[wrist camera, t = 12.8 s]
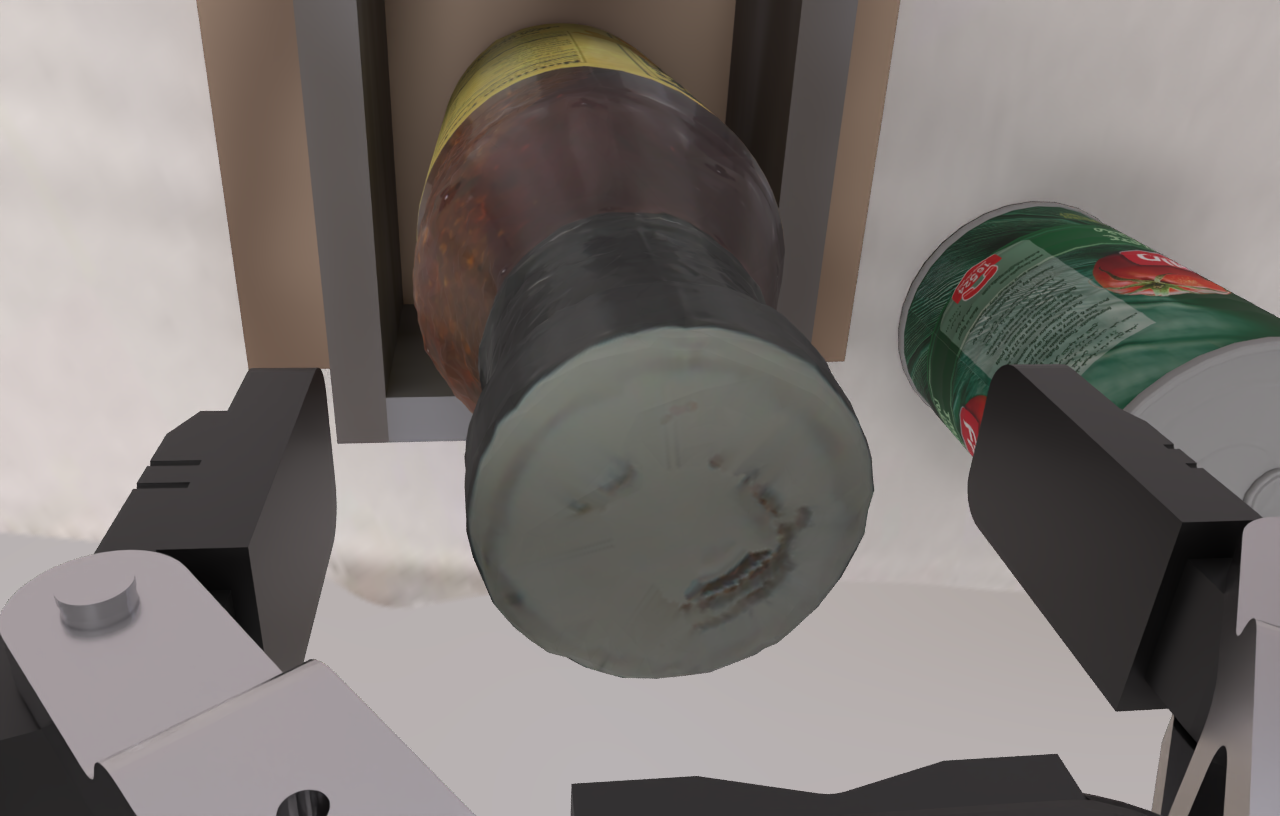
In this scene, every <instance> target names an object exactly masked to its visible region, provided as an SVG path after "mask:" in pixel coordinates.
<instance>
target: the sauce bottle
mask: <svg viewBox="0 0 1280 816" xmlns="http://www.w3.org/2000/svg"><path fill="white" fill-rule="evenodd" d="M784 257H785V245H784V235H783V227H782V222H781V218H780V213H779V208H778V205H777V203H776V200H775V197H774V194H773V192H772V189H771V187H770V185H769V183H768V181H767V179H766V177H765V175H764V173H763V171H762V170H761V168H760V166H759V165H758V163H757V161H756V160H755V158H754V157H753V156H752V154H751V153H750V152H749V150H748V149H747V147H746V146H745V145H744V143H743V142H742V141H741V140H740V139H739V138H738V137H737V135H736V134H735V133H734V132H733V131H731V130H730V129H729V128H728V127H727V126H726V125H725V124H724V123H723V122H722V121H721V120H720V119H719V118H718V117H717V116H715V115H714V114H713V113H712V112H711V111H710V110H709V109H707V108H706V107H705V106H704V105H703V104H702V103H701V102H699V101H698V100H697V99H696V98H694V97H693V96H692V95H691V94H690V93H689V92H688V91H687V90H686V89H685V88H684V87H683V86H681V85H680V84H679V83H677V82H676V81H674V80H673V79H672V78H671V77H670V76H668V75H667V74H665V73H664V72H663V71H662V70H661V69H660V68H659V67H658V66H656V65H655V64H654V63H653V62H651V61H650V60H649V59H648V58H647V57H645V56H644V55H643V54H642V53H640V52H639V51H638V50H637V49H635V48H634V47H633V46H631V45H630V44H628V43H627V42H625V41H623V40H622V39H620V38H618V37H616V36H614V35H612V34H610V33H608V32H606V31H604V30H601V29H597V28H594V27H591V26H586V25H579V24H566V23H556V24H543V25H537V26H532V27H528V28H524V29H521V30H519V31H516V32H514V33H511V34H509V35H507V36H504V37H502V38H500V39H498V40H496V41H495V42H494V43H493V44H491V45H490V46H489V47H488V48H487V49H486V50H485V51H483V52H482V53H481V54H480V55H479V56H478V57H477V58H476V59H475V60H474V61H473V63H472V64H471V65H470V66H469V67H468V68H467V70H466V71H465V73H464V74H463V76H462V77H461V78H460V80H459V82H458V83H457V85H456V87H455V89H454V91H453V93H452V95H451V98H450V100H449V103H448V105H447V109H446V112H445V116H444V119H443V123H442V126H441V130H440V133H439V137H438V140H437V143H436V147H435V150H434V154H433V157H432V161H431V164H430V168H429V171H428V174H427V178H426V182H425V185H424V189H423V193H422V197H421V201H420V205H419V213H418V223H417V243H416V248H415V258H414V268H413V275H412V278H413V297H414V306H415V308H416V310H417V314H418V323H419V326H420V330H421V333H422V336H423V343H424V350H425V351H426V352H427V354H428V355H429V356H430V358H431V359H432V361H433V363H434V365H435V367H436V369H437V370H438V371H439V373H440V374H441V375H442V377H443V378H444V379H445V380H446V381H447V383H448V386H449V387H450V388H451V389H452V392H453V394H454V395H455V396H456V398H458V399H459V400H460V401H461V402H462V403H463V404H464V405H465V406H466V407H467V408H468V410H469V411H470V412H471V413H472V414H473V415H472V418H471V420H470V423H469V427H468V432H467V437H466V452H465V456H464V457H465V467H466V473H465V503H466V532H467V535H468V539H469V543H470V547H471V551H472V555H473V558H474V561H475V563H476V565H477V567H478V570H479V572H480V574H481V577H482V579H483V581H484V584H485V586H486V588H487V590H488V593H489V595H490V597H491V600H492V602H493V603H494V605H495V606H496V607H497V608H498V609H499V611H500V612H501V613H502V614H503V615H504V616H505V617H506V619H507V620H508V621H509V622H510V623H511V624H512V625H513V626H514V627H515V628H516V629H517V630H518V631H520V632H521V633H522V634H523V635H525V636H526V637H527V638H528V639H530V640H531V641H532V642H534V643H535V644H537V645H538V646H540V647H541V648H543V649H544V650H545V651H547V652H549V653H552V654H556V655H560V656H564V657H567V658H569V659H571V660H573V661H574V662H576V663H578V664H580V665H582V666H584V667H586V668H590V669H593V670H596V671H600V672H603V673H606V674H610V675H614V676H618V677H622V678H654V679H657V678H666V677H676V676H686V675H693V674H701V673H708V672H712V671H714V670H717V669H719V668H722V667H725V666H727V665H730V664H732V663H735V662H738V661H740V660H743V659H745V658H748V657H750V656H753V655H755V654H757V653H758V652H760V651H761V650H763V649H764V648H767V647H769V646H771V645H774V644H776V643H778V642H779V641H780V640H782V639H783V638H784V637H785V636H786V635H788V634H789V633H790V632H791V631H792V630H793V629H794V628H795V627H796V626H798V625H799V623H801V622H802V621H803V620H804V619H805V618H806V617H807V616H808V615H809V614H811V613H812V612H813V611H814V610H815V609H816V608H817V607H818V606H819V605H820V603H821V602H822V601H823V599H824V598H825V597H826V596H827V594H828V593H829V592H830V590H831V589H832V588H833V587H834V585H835V584H836V583H837V582H838V580H839V579H840V578H841V576H842V575H843V573H844V571H845V569H846V567H847V566H848V564H849V562H850V560H851V558H852V557H853V555H854V553H855V551H856V549H857V547H858V545H859V543H860V541H861V539H862V537H863V535H864V532H865V526H866V520H867V514H868V509H869V506H870V502H871V499H872V496H873V492H874V484H873V473H872V458H871V454H870V450H869V446H868V443H867V440H866V437H865V435H864V433H863V430H862V428H861V426H860V424H859V421H858V418H857V417H856V415H855V412H854V410H853V408H852V405H851V403H850V401H849V400H848V398H847V397H846V395H845V394H844V392H843V391H842V389H841V387H840V386H839V384H838V383H837V381H836V380H835V378H834V377H833V375H832V373H831V371H830V369H829V367H828V365H827V363H826V360H825V359H824V358H823V356H822V355H821V354H820V353H819V352H818V350H817V349H816V348H815V347H814V346H813V345H812V344H811V342H810V341H809V340H808V339H807V338H806V337H805V336H804V335H803V334H802V333H801V332H800V331H799V330H798V329H797V328H796V327H795V326H794V325H793V324H792V323H791V322H790V321H789V320H788V319H787V318H786V317H785V316H784V315H782V314H781V313H779V312H778V311H777V304H778V299H779V293H780V289H781V284H782V278H783V267H784Z"/></svg>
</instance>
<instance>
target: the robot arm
mask: <svg viewBox="0 0 1280 816" xmlns="http://www.w3.org/2000/svg"><path fill="white" fill-rule="evenodd" d="M968 501H969V507H970V511H971V514H972V517H973V520H974V522H975V524H976V525H977V527H978V528H979V530H980V531H981V532H982V534H983V535H984V536H985V538H986V539H987V540H988V542H989V543H990V544H991V546H992V547H993V548H994V550H995V551H996V552H997V554H998V555H999V556H1000V558H1001V559H1002V560H1003V562H1004V563H1005V564H1006V566H1007V567H1008V568H1009V570H1010V571H1011V572H1012V574H1013V575H1014V576H1015V578H1016V579H1017V580H1018V582H1019V583H1020V584H1021V586H1022V587H1023V588H1024V590H1025V591H1026V592H1027V594H1028V595H1029V596H1030V598H1031V599H1032V600H1033V602H1034V603H1035V604H1036V606H1037V607H1038V608H1039V610H1040V611H1041V612H1042V614H1043V615H1044V616H1045V617H1046V619H1047V620H1048V622H1049V623H1050V624H1051V626H1052V627H1053V628H1054V630H1055V631H1056V632H1057V634H1058V635H1059V636H1060V638H1061V639H1062V640H1063V642H1064V643H1065V644H1066V646H1067V647H1068V648H1069V650H1070V651H1071V652H1072V654H1073V655H1074V656H1075V658H1076V659H1077V660H1078V661H1079V663H1080V664H1081V666H1082V667H1083V668H1084V670H1085V671H1086V672H1087V674H1088V675H1089V676H1090V678H1091V679H1092V680H1093V682H1094V683H1095V684H1096V685H1097V687H1098V688H1099V690H1100V691H1101V692H1102V693H1103V695H1104V696H1105V698H1106V699H1107V700H1108V702H1109V703H1110V704H1111V706H1112V707H1113V708H1114V710H1115V711H1134V710H1152V709H1169V710H1170V711H1171V712H1172V717H1171V719H1170V722H1169V724H1168V727H1167V730H1166V732H1165V735H1164V738H1163V741H1162V745H1161V751H1160V758H1159V765H1158V771H1157V779H1156V784H1155V791H1154V798H1153V804H1152V811H1148V810H1145V809H1142V808H1139V807H1136V806H1133V805H1130V804H1127V803H1124V802H1121V801H1116V800H1112V799H1108V798H1104V797H1100V796H1096V795H1090V794H1085V793H1082V792H1081V790H1080V789H1079V787H1078V786H1077V784H1076V782H1075V781H1074V779H1073V777H1072V776H1071V775H1070V773H1069V771H1068V770H1067V768H1066V767H1065V765H1064V764H1063V762H1062V760H1061V759H1060V757H1059V756H1058V754H1048V755H1031V756H1015V757H999V758H983V759H967V760H950V761H942V762H939V763H936V764H932V765H930V766H926V767H923V768H920V769H916V770H913V771H910V772H907V773H903V774H900V775H897V776H894V777H891V778H887V779H884V780H881V781H878V782H875V783H872V784H868V785H865V786H862V787H859V788H855V789H853V790H849V791H846V792H842V793H837V794H818V793H811V792H804V791H797V790H790V789H783V788H776V787H769V786H762V785H755V784H747V783H741V782H734V781H727V780H720V779H713V778H705V777H699V776H691V777H675V778H659V779H643V780H627V781H610V782H594V783H578V784H572V791H571V816H1280V517H1266V518H1263V517H1262V516H1261V515H1260V514H1258V513H1257V512H1256V511H1255V510H1253V509H1252V508H1251V507H1250V506H1249V505H1247V504H1246V503H1245V502H1244V501H1243V500H1241V499H1240V498H1239V497H1238V496H1236V495H1235V494H1234V493H1233V492H1232V491H1230V490H1229V489H1228V488H1227V487H1226V486H1224V485H1223V484H1222V483H1221V482H1219V481H1218V480H1217V479H1216V478H1215V477H1213V476H1212V475H1211V474H1210V473H1208V472H1207V471H1206V470H1205V469H1204V468H1197V463H1196V462H1195V461H1194V460H1193V459H1191V458H1190V457H1189V456H1188V455H1187V454H1185V453H1184V452H1183V451H1182V450H1181V449H1174V444H1173V443H1172V442H1171V441H1170V440H1168V439H1167V438H1166V437H1165V436H1164V435H1162V434H1161V433H1160V432H1159V431H1157V430H1156V429H1155V428H1154V427H1153V426H1151V425H1150V424H1149V423H1148V422H1147V421H1144V420H1142V419H1140V418H1138V417H1136V416H1134V415H1132V414H1130V413H1128V412H1126V411H1124V410H1122V409H1120V408H1119V407H1117V406H1116V405H1115V404H1114V403H1113V402H1111V401H1110V400H1109V399H1108V398H1107V397H1106V396H1104V395H1103V394H1102V393H1101V392H1100V391H1098V390H1097V389H1096V388H1095V387H1094V386H1092V385H1091V384H1090V383H1089V382H1088V381H1086V380H1085V379H1084V378H1083V377H1082V376H1080V375H1079V374H1078V373H1077V372H1076V371H1074V370H1073V369H1072V368H1071V367H1069V366H1068V365H1065V364H1009V365H1003V366H1001V367H1000V368H999V369H998V370H997V371H996V372H995V374H994V376H993V378H992V380H991V382H990V386H989V390H988V394H987V398H986V403H985V407H984V411H983V416H982V420H981V424H980V429H979V433H978V437H977V442H976V446H975V450H974V455H973V459H972V463H971V468H970V472H969V477H968ZM336 508H337V505H336V485H335V475H334V465H333V455H332V446H331V436H330V426H329V416H328V406H327V396H326V388H325V381H324V377H323V374H322V371H321V369H320V368H251V369H249V371H248V372H247V374H246V376H245V378H244V380H243V382H242V384H241V386H240V388H239V390H238V391H237V393H236V395H235V397H234V399H233V401H232V403H231V405H230V407H229V409H228V411H200V412H199V413H197V414H196V415H194V416H193V417H191V418H190V419H188V420H187V421H185V422H184V423H182V424H181V425H179V426H178V427H177V428H175V429H174V430H172V431H171V432H169V433H168V434H166V436H165V438H164V439H163V441H162V443H161V444H160V446H159V447H158V449H157V451H156V452H155V454H154V456H153V457H152V459H151V461H150V466H147V467H146V469H145V471H144V472H143V474H142V475H141V477H140V479H139V480H138V482H137V489H133V490H132V492H131V494H130V495H129V497H128V498H127V500H126V502H125V503H124V505H123V507H122V508H121V510H120V512H119V513H118V515H117V517H116V518H115V520H114V522H113V523H112V525H111V526H110V528H109V530H108V531H107V533H106V535H105V536H104V538H103V540H102V541H101V543H100V545H99V546H98V548H97V550H96V551H95V553H94V554H92V555H88V556H84V557H81V558H78V559H74V560H71V561H68V562H65V563H63V564H60V565H58V566H55V567H53V568H51V569H49V570H47V571H45V572H43V573H42V574H40V575H38V576H36V577H35V578H33V579H32V580H30V581H29V582H27V583H26V584H25V585H23V586H22V587H21V588H20V589H19V590H17V591H16V592H15V593H14V594H13V596H12V597H11V598H10V599H9V600H8V601H7V603H6V604H5V606H4V607H3V609H2V611H1V614H0V816H476V815H475V814H474V813H473V812H472V811H471V810H470V809H469V808H468V807H467V806H466V805H465V804H464V803H463V802H462V801H461V800H460V799H459V798H458V797H457V796H456V795H455V794H454V793H453V792H452V791H451V790H450V789H449V788H448V787H447V786H446V785H445V784H444V783H443V782H442V781H441V780H440V779H439V778H438V777H437V776H436V775H435V774H434V772H433V771H431V770H430V768H429V767H427V765H426V764H425V763H424V762H423V761H422V760H421V759H420V758H419V757H418V756H417V755H416V754H415V753H414V752H413V751H412V750H411V749H410V748H409V747H408V746H407V745H406V744H405V743H404V742H403V741H402V740H401V739H400V738H399V737H398V736H397V735H396V734H395V733H394V732H393V731H392V730H391V729H390V728H389V727H388V726H387V725H386V724H385V723H384V722H383V721H382V720H381V719H380V718H379V717H378V716H377V714H376V713H375V712H374V711H372V709H371V708H370V707H368V706H367V704H366V703H365V702H364V701H363V700H362V699H361V698H360V697H359V696H358V695H357V694H356V693H355V692H354V691H353V690H352V689H351V688H350V687H349V686H348V685H347V684H346V683H345V682H344V681H343V680H342V679H341V678H340V677H339V676H338V675H337V674H336V673H335V672H334V671H333V670H332V669H331V668H330V667H329V666H327V665H326V664H324V663H323V662H321V661H318V660H316V659H310V660H308V661H306V662H304V658H305V654H306V650H307V646H308V642H309V638H310V634H311V630H312V626H313V622H314V618H315V614H316V610H317V606H318V602H319V598H320V594H321V590H322V587H323V583H324V579H325V575H326V571H327V567H328V563H329V559H330V555H331V551H332V547H333V542H334V537H335V529H336ZM303 662H304V663H303Z"/></svg>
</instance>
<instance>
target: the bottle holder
mask: <svg viewBox="0 0 1280 816" xmlns="http://www.w3.org/2000/svg"><path fill="white" fill-rule="evenodd" d="M196 1H197V8H198V15H199V22H200V29H201V37H202V44H203V51H204V58H205V65H206V72H207V79H208V86H209V93H210V100H211V107H212V114H213V121H214V128H215V135H216V142H217V150H218V157H219V164H220V171H221V178H222V185H223V192H224V199H225V206H226V213H227V220H228V227H229V234H230V241H231V248H232V255H233V262H234V270H235V277H236V284H237V291H238V298H239V305H240V312H241V319H242V326H243V333H244V340H245V347H246V354H247V361H248V368H249V369H251V368H320V369H330V374H331V384H332V393H333V403H334V413H335V423H336V433H337V443H338V444H344V443H385V442H426V441H466V437H467V432H468V427H469V423H470V420H471V418H472V415H473V414H472V413H471V412H470V411H469V410H468V408H467V407H466V406H465V405H464V404H463V403H462V402H461V401H460V400H459V399H458V398H456V396H455V395H454V394H453V392H452V389H451V388H450V387H449V386H448V383H447V381H446V380H445V379H444V378H443V377H442V375H441V374H440V373H439V371H438V370H437V369H436V367H435V365H434V363H433V361H432V359H431V358H430V356H429V355H428V354H427V352H426V351H425V350H424V343H423V336H422V333H421V330H420V326H419V323H418V314H417V310H416V308H415V306H414V297H413V278H412V275H413V268H414V258H415V248H416V243H417V223H418V213H419V205H420V201H421V197H422V193H423V189H424V185H425V182H426V178H427V174H428V171H429V168H430V164H431V161H432V157H433V154H434V150H435V147H436V143H437V140H438V137H439V133H440V130H441V126H442V123H443V119H444V116H445V112H446V109H447V105H448V103H449V100H450V98H451V95H452V93H453V91H454V89H455V87H456V85H457V83H458V82H459V80H460V78H461V77H462V76H463V74H464V73H465V71H466V70H467V68H468V67H469V66H470V65H471V64H472V63H473V61H474V60H475V59H476V58H477V57H478V56H479V55H480V54H481V53H482V52H483V51H485V50H486V49H487V48H488V47H489V46H490V45H491V44H493V43H494V42H495V41H496V40H498V39H500V38H502V37H504V36H507V35H509V34H511V33H514V32H516V31H519V30H521V29H524V28H528V27H532V26H537V25H543V24H556V23H566V24H579V25H586V26H591V27H594V28H597V29H601V30H604V31H606V32H608V33H610V34H612V35H614V36H616V37H618V38H620V39H622V40H623V41H625V42H627V43H628V44H630V45H631V46H633V47H634V48H635V49H637V50H638V51H639V52H640V53H642V54H643V55H644V56H645V57H647V58H648V59H649V60H650V61H651V62H653V63H654V64H655V65H656V66H658V67H659V68H660V69H661V70H662V71H663V72H664V73H665V74H667V75H668V76H670V77H671V78H672V79H673V80H674V81H676V82H677V83H679V84H680V85H681V86H683V87H684V88H685V89H686V90H687V91H688V92H689V93H690V94H691V95H692V96H693V97H694V98H696V99H697V100H698V101H699V102H701V103H702V104H703V105H704V106H705V107H706V108H707V109H709V110H710V111H711V112H712V113H713V114H714V115H715V116H717V117H718V118H719V119H720V120H721V121H722V122H723V123H724V124H725V125H726V126H727V127H728V128H729V129H730V130H731V131H733V132H734V133H735V134H736V135H737V137H738V138H739V139H740V140H741V141H742V142H743V143H744V145H745V146H746V147H747V149H748V150H749V152H750V153H751V154H752V156H753V157H754V158H755V160H756V161H757V163H758V165H759V166H760V168H761V170H762V171H763V173H764V175H765V177H766V179H767V181H768V183H769V185H770V187H771V189H772V192H773V194H774V197H775V200H776V203H777V205H778V208H779V213H780V218H781V222H782V227H783V235H784V245H785V257H784V267H783V278H782V284H781V289H780V293H779V299H778V304H777V311H778V312H779V313H781V314H782V315H784V316H785V317H786V318H787V319H788V320H789V321H790V322H791V323H792V324H793V325H794V326H795V327H796V328H797V329H798V330H799V331H800V332H801V333H802V334H803V335H804V336H805V337H806V338H807V339H808V340H809V341H810V342H811V344H812V345H813V346H814V347H815V348H816V349H817V350H818V352H819V353H820V354H821V355H822V356H823V358H824V359H825V360H826V362H837V361H844V360H845V354H846V348H847V341H848V335H849V328H850V322H851V315H852V309H853V302H854V296H855V289H856V283H857V276H858V270H859V264H860V257H861V251H862V244H863V238H864V231H865V225H866V218H867V212H868V205H869V199H870V193H871V186H872V180H873V173H874V167H875V160H876V154H877V147H878V141H879V134H880V128H881V121H882V115H883V109H884V102H885V96H886V89H887V83H888V76H889V70H890V63H891V57H892V50H893V44H894V38H895V31H896V25H897V18H898V12H899V5H900V0H196Z"/></svg>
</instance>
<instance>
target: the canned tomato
mask: <svg viewBox="0 0 1280 816" xmlns="http://www.w3.org/2000/svg"><path fill="white" fill-rule="evenodd" d="M899 353H900V357H901V362H902V366H903V370H904V372H905V374H906V376H907V378H908V380H909V382H910V384H911V386H912V388H913V390H914V391H915V392H916V393H917V394H918V395H919V397H920V398H921V399H922V400H923V401H924V403H925V404H927V405H928V406H929V407H931V408H932V409H933V411H934V412H935V413H936V415H937V416H938V417H939V418H940V419H941V421H942V422H943V423H944V424H945V425H946V427H947V428H948V429H949V430H950V431H951V432H952V433H953V435H954V436H955V437H956V438H957V439H958V440H959V441H960V442H961V444H962V445H963V446H964V447H965V448H966V450H967V451H968V452H969V453H970V454H971V455H972V456H973V455H974V450H975V446H976V442H977V437H978V433H979V429H980V424H981V420H982V416H983V411H984V407H985V403H986V398H987V394H988V390H989V386H990V382H991V380H992V378H993V376H994V374H995V372H996V371H997V370H998V369H999V368H1000V367H1001V366H1003V365H1009V364H1065V365H1068V366H1069V367H1071V368H1072V369H1073V370H1074V371H1076V372H1077V373H1078V374H1079V375H1080V376H1082V377H1083V378H1084V379H1085V380H1086V381H1088V382H1089V383H1090V384H1091V385H1092V386H1094V387H1095V388H1096V389H1097V390H1098V391H1100V392H1101V393H1102V394H1103V395H1104V396H1106V397H1107V398H1108V399H1109V400H1110V401H1111V402H1113V403H1114V404H1115V405H1116V406H1117V407H1119V408H1120V409H1122V410H1124V411H1126V412H1128V413H1130V414H1132V415H1134V416H1136V417H1138V418H1140V419H1142V420H1144V421H1147V422H1148V423H1149V424H1150V425H1151V426H1153V427H1154V428H1155V429H1156V430H1157V431H1159V432H1160V433H1161V434H1162V435H1164V436H1165V437H1166V438H1167V439H1168V440H1170V441H1171V442H1172V443H1173V444H1174V449H1181V450H1182V451H1183V452H1184V453H1185V454H1187V455H1188V456H1189V457H1190V458H1191V459H1193V460H1194V461H1195V462H1196V463H1197V468H1204V469H1205V470H1206V471H1207V472H1208V473H1210V474H1211V475H1212V476H1213V477H1215V478H1216V479H1217V480H1218V481H1219V482H1221V483H1222V484H1223V485H1224V486H1226V487H1227V488H1228V489H1229V490H1230V491H1232V492H1233V493H1234V494H1235V495H1236V496H1238V497H1239V498H1240V499H1241V500H1243V501H1244V502H1245V503H1246V504H1247V505H1249V506H1250V507H1251V508H1252V509H1253V510H1255V511H1256V512H1257V513H1258V514H1260V515H1261V516H1262V517H1263V518H1266V517H1280V318H1278V317H1276V316H1275V315H1273V314H1271V313H1269V312H1267V311H1265V310H1263V309H1261V308H1260V307H1258V306H1256V305H1254V304H1252V303H1251V302H1249V301H1247V300H1245V299H1243V298H1241V297H1239V296H1237V295H1235V294H1234V293H1232V292H1230V291H1228V290H1226V289H1225V288H1223V287H1221V286H1219V285H1217V284H1215V283H1213V282H1212V281H1210V280H1208V279H1206V278H1204V277H1202V276H1200V275H1199V274H1197V273H1195V272H1193V271H1191V270H1189V269H1188V268H1186V267H1184V266H1182V265H1180V264H1178V263H1177V262H1175V261H1173V260H1171V259H1169V258H1167V257H1165V256H1163V255H1162V254H1160V253H1158V252H1156V251H1154V250H1152V249H1151V248H1149V247H1147V246H1145V245H1143V244H1141V243H1140V242H1138V241H1136V240H1134V239H1132V238H1130V237H1128V236H1127V235H1125V234H1123V233H1121V232H1119V231H1117V230H1115V229H1113V228H1112V227H1110V226H1107V225H1105V224H1103V223H1102V222H1101V221H1100V220H1098V219H1097V218H1096V217H1094V216H1092V215H1090V214H1088V213H1086V212H1084V211H1082V210H1080V209H1079V208H1075V207H1071V206H1067V205H1063V204H1059V203H1055V202H1027V203H1021V204H1015V205H1009V206H1006V207H1003V208H1000V209H998V210H995V211H992V212H990V213H987V214H984V215H982V216H981V217H979V218H977V219H976V220H974V221H972V222H970V223H969V224H967V225H965V226H963V227H962V228H961V229H959V230H958V231H957V232H956V233H954V234H953V235H952V236H951V237H950V238H948V239H947V240H946V241H945V242H943V243H942V244H941V245H940V247H939V248H938V249H937V250H936V251H935V252H934V253H933V255H932V256H931V257H930V258H929V259H928V260H927V261H926V263H925V264H924V266H923V267H922V269H921V270H920V272H919V274H918V275H917V277H916V278H915V280H914V282H913V283H912V285H911V288H910V290H909V293H908V295H907V298H906V300H905V303H904V305H903V309H902V314H901V319H900V324H899Z"/></svg>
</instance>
